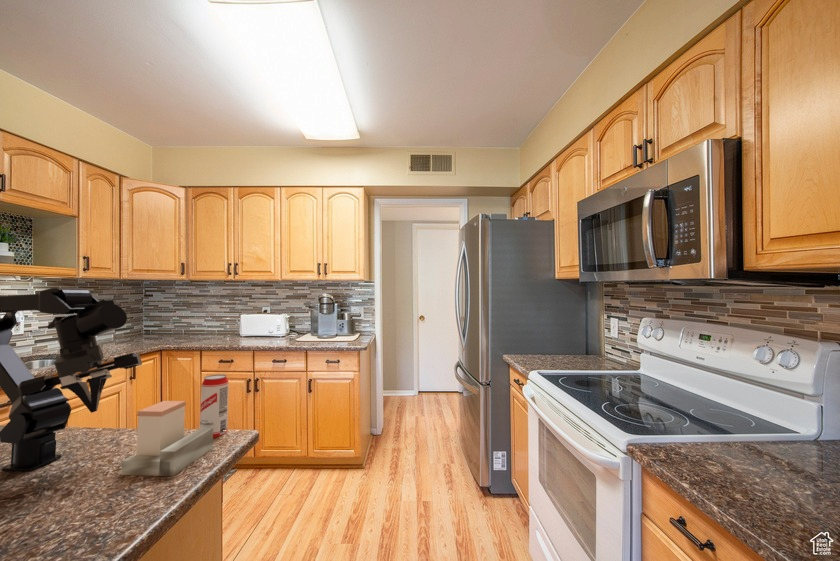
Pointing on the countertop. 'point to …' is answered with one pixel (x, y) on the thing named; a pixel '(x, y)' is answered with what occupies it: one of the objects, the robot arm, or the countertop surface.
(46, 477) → the countertop surface
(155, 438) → the push key
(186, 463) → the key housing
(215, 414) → the beer can
